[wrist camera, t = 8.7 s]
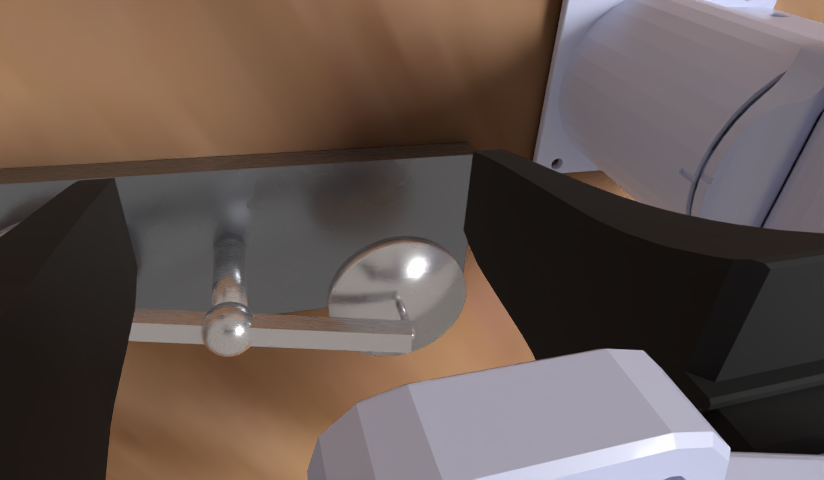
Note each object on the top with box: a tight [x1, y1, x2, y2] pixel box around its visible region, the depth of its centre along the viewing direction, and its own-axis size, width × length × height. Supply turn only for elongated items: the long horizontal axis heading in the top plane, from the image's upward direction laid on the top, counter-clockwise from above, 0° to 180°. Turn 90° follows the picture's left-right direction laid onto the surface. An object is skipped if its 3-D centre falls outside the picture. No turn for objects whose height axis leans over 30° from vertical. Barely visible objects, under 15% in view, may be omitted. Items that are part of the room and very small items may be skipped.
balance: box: [0, 142, 476, 357], centre depth 20 cm, size 20×7×8 cm, turn 87°
